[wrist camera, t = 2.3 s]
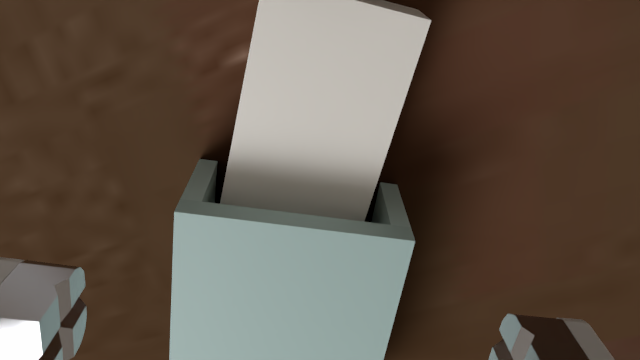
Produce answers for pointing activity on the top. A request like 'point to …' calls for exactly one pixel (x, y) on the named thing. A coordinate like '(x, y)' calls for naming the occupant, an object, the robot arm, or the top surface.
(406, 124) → the top surface
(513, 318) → the robot arm
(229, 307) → the case
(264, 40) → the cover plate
